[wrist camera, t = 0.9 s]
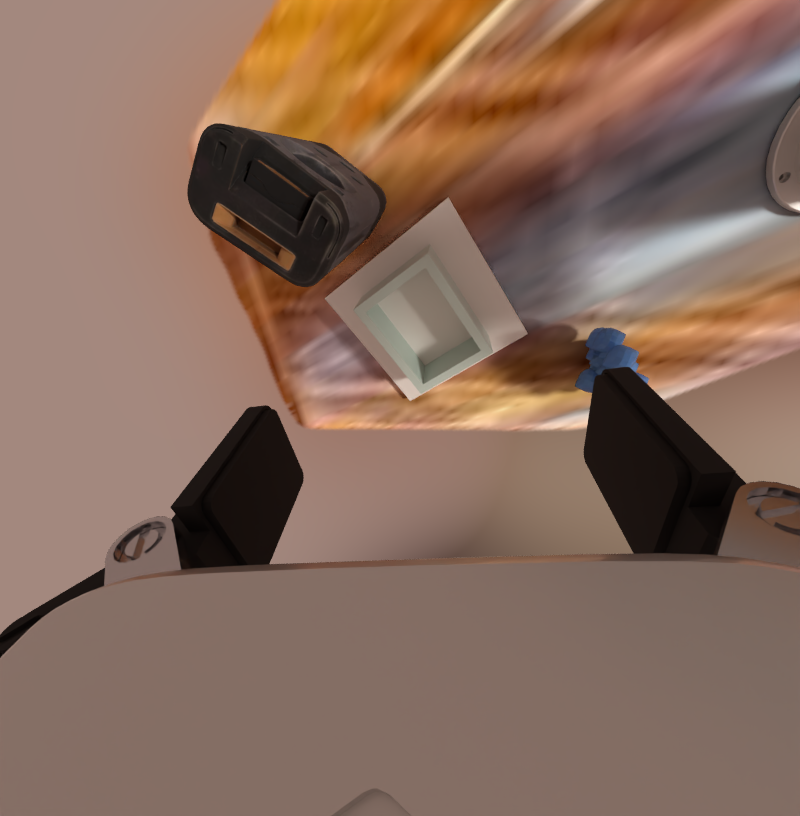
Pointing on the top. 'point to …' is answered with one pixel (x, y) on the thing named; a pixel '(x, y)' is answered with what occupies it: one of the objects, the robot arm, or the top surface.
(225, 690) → the robot arm
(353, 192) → the electronic device
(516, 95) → the top surface
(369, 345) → the dock
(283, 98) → the top surface
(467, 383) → the top surface
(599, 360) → the grapes
